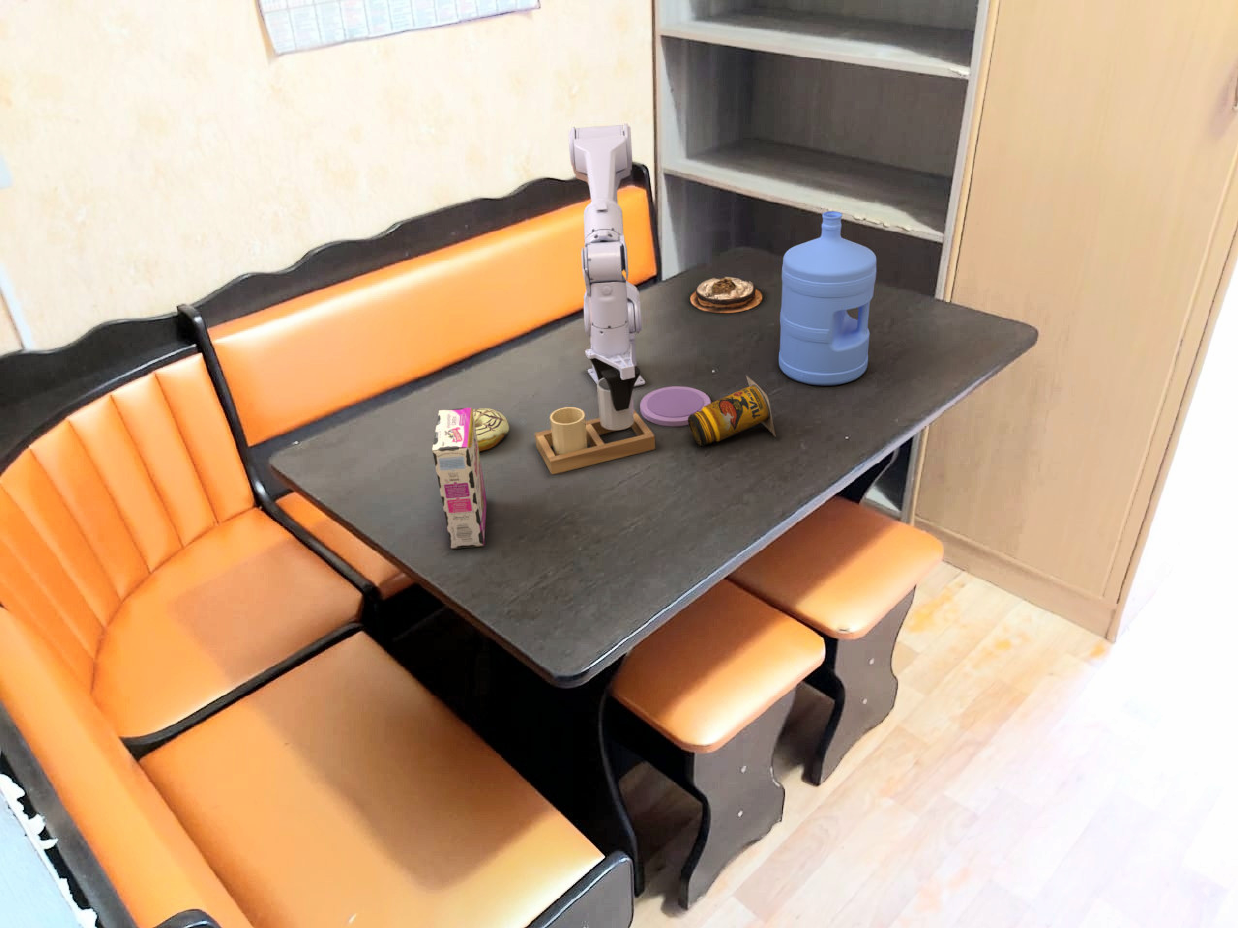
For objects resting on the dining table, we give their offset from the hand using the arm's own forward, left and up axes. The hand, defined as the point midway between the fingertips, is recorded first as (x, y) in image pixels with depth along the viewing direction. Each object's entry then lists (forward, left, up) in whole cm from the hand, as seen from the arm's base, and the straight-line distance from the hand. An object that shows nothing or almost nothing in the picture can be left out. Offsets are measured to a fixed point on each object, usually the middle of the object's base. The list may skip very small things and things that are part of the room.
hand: (615, 400), depth 145 cm
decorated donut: (-11, -21, -8) cm, 25 cm away
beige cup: (0, -8, -8) cm, 11 cm away
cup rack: (0, -4, -8) cm, 9 cm away
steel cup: (0, 0, -4) cm, 4 cm away
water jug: (-8, +42, -8) cm, 43 cm away
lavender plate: (-6, +12, -8) cm, 16 cm away
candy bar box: (+12, -27, -8) cm, 31 cm away
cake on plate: (-44, +40, -8) cm, 60 cm away
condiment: (+6, +23, -3) cm, 24 cm away
